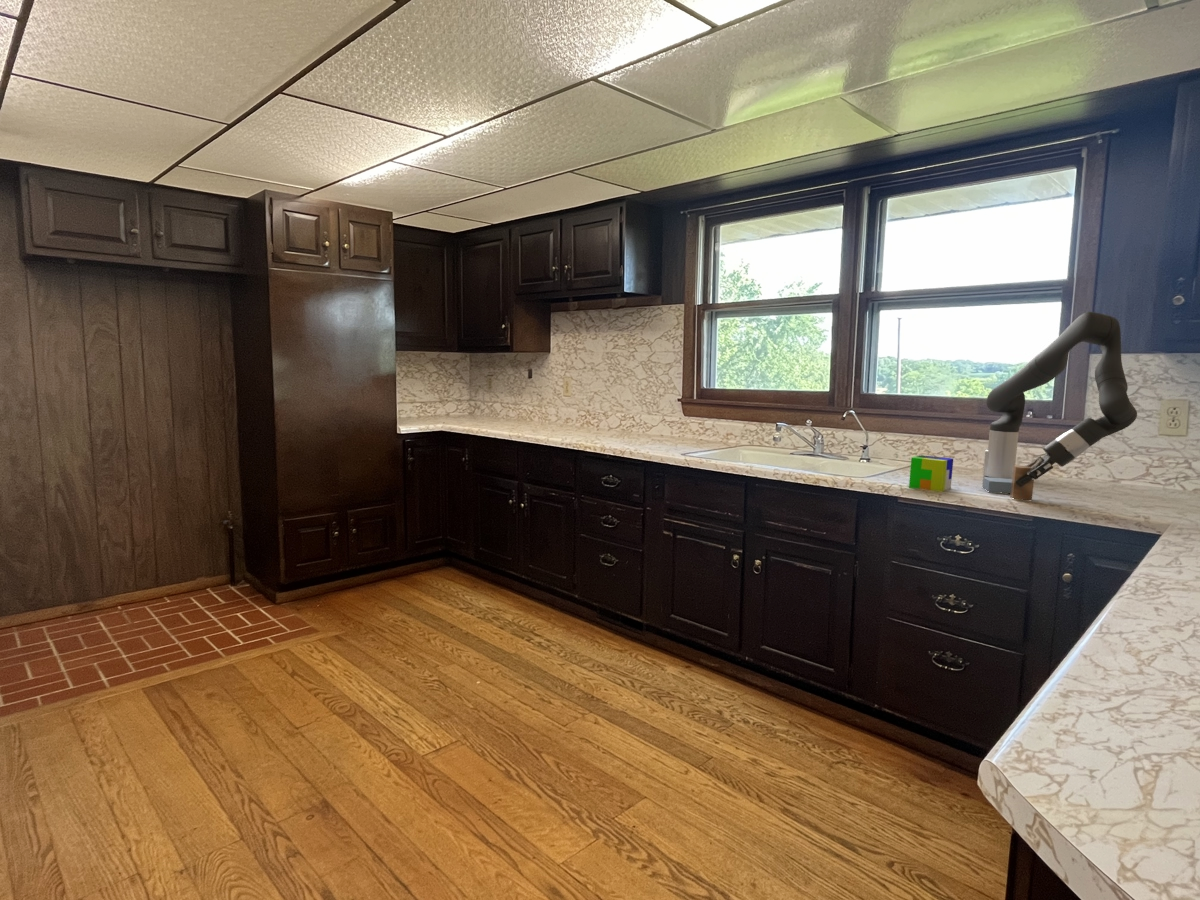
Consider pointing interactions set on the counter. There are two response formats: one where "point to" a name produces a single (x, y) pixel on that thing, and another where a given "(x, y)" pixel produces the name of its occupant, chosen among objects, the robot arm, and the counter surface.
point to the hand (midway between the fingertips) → (1016, 482)
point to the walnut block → (1025, 490)
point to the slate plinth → (997, 484)
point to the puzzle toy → (931, 473)
